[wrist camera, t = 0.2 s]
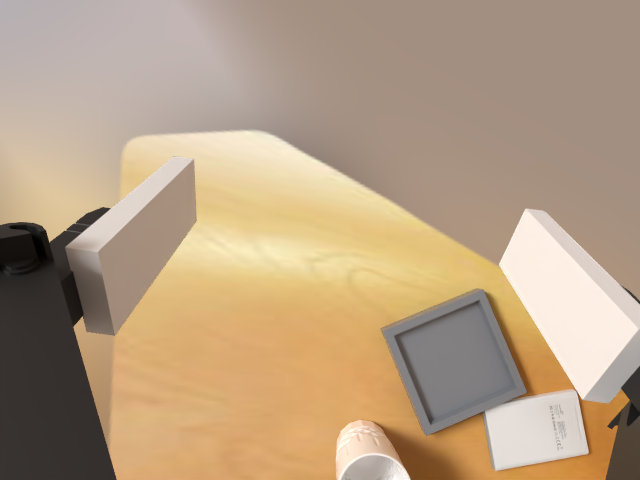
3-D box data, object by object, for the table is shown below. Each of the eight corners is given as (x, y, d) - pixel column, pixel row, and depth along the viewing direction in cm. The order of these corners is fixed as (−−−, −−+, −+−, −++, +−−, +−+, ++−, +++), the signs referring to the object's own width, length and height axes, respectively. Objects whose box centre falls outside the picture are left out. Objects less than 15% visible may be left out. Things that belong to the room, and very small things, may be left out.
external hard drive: (478, 402, 50) (569, 387, 50) (490, 465, 50) (581, 449, 50) (484, 407, 48) (577, 391, 49) (496, 472, 48) (590, 455, 48)
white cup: (396, 420, 49) (418, 460, 39) (387, 481, 49) (406, 538, 39) (337, 409, 49) (343, 447, 39) (327, 471, 49) (330, 525, 39)
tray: (518, 387, 50) (527, 392, 48) (421, 428, 49) (426, 435, 47) (476, 288, 50) (483, 289, 48) (380, 328, 50) (383, 331, 48)
